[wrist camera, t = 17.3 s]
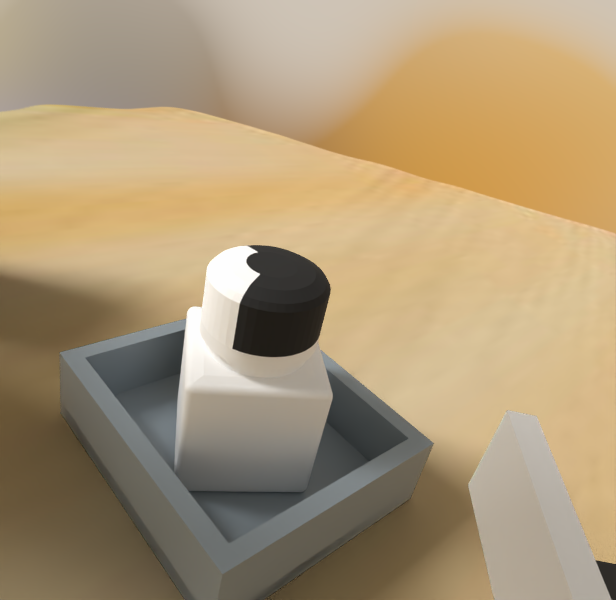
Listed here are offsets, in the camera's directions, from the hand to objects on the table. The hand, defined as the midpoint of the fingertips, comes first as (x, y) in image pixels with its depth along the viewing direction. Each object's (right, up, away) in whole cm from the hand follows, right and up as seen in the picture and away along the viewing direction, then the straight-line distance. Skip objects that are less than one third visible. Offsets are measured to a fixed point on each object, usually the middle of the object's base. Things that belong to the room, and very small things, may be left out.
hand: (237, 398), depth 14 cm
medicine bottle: (-2, -6, +20) cm, 21 cm away
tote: (-3, -7, +20) cm, 21 cm away
